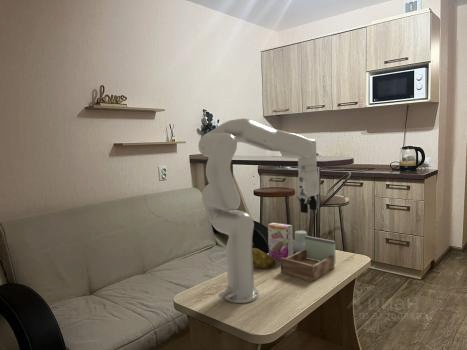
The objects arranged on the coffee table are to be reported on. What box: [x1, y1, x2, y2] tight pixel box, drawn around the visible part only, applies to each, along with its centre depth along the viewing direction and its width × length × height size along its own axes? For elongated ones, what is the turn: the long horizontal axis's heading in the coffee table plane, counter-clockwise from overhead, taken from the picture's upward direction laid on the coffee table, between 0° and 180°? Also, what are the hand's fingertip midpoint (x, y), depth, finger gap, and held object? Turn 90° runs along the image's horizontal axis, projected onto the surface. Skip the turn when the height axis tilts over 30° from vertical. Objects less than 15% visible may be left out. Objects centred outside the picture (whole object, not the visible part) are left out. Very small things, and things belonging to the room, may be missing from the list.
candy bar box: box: [267, 222, 294, 261], centre depth 162 cm, size 11×5×16 cm, turn 50°
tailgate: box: [305, 235, 337, 265], centre depth 153 cm, size 1×15×10 cm, turn 46°
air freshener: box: [293, 230, 308, 253], centre depth 171 cm, size 11×8×10 cm
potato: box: [252, 247, 276, 270], centre depth 154 cm, size 8×13×8 cm, turn 50°
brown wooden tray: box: [279, 249, 335, 283], centre depth 147 cm, size 18×15×6 cm
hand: (308, 210), depth 146 cm, fingers open, 6 cm apart
